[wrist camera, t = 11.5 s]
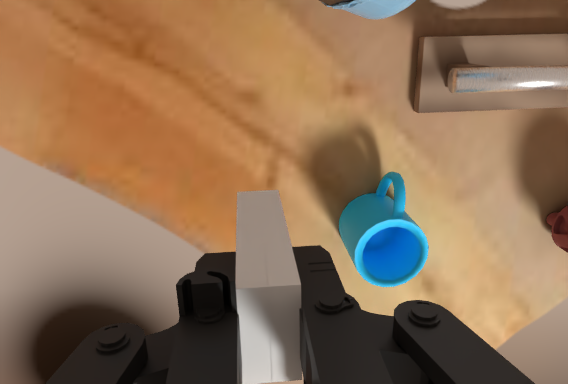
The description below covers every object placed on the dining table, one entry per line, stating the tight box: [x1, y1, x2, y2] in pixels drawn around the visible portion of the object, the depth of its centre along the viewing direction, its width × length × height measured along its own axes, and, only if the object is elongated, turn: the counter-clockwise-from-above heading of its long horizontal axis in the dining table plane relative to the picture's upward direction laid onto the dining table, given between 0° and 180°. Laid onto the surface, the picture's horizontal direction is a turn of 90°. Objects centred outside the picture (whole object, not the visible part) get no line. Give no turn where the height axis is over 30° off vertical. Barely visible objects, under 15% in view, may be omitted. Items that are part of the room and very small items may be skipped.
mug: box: [339, 172, 429, 287], centre depth 51 cm, size 12×8×8 cm
